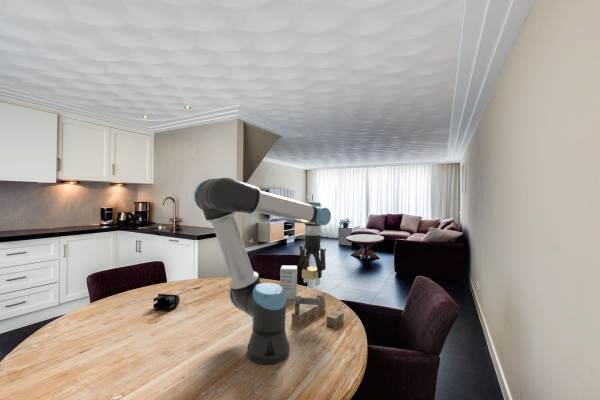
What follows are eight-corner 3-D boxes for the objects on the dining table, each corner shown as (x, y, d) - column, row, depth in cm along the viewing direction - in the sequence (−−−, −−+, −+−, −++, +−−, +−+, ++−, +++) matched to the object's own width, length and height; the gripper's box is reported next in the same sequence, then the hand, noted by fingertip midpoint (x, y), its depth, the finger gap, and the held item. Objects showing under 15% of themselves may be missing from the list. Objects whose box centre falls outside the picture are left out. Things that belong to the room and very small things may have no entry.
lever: (293, 304, 121) (293, 295, 121) (294, 301, 124) (294, 293, 124) (324, 306, 119) (324, 297, 119) (324, 303, 122) (324, 295, 122)
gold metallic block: (312, 280, 126) (312, 271, 126) (301, 277, 130) (302, 269, 130) (321, 276, 133) (321, 268, 133) (311, 274, 136) (311, 266, 136)
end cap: (179, 306, 141) (180, 293, 141) (171, 312, 134) (171, 298, 134) (161, 305, 142) (161, 292, 142) (152, 310, 135) (152, 296, 135)
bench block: (335, 327, 120) (335, 318, 120) (326, 325, 123) (326, 316, 123) (343, 321, 127) (343, 312, 127) (335, 319, 129) (335, 310, 129)
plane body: (299, 327, 120) (299, 305, 120) (291, 324, 123) (292, 303, 123) (325, 311, 138) (325, 292, 138) (318, 309, 140) (318, 290, 140)
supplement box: (296, 299, 153) (296, 269, 153) (279, 299, 153) (280, 268, 153) (296, 294, 163) (297, 265, 163) (281, 293, 163) (281, 264, 163)
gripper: (334, 235, 129) (333, 285, 129) (301, 232, 140) (300, 278, 140) (326, 237, 123) (325, 289, 123) (291, 233, 134) (290, 281, 134)
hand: (311, 283), depth 131 cm, fingers closed on gold metallic block, 6 cm apart
